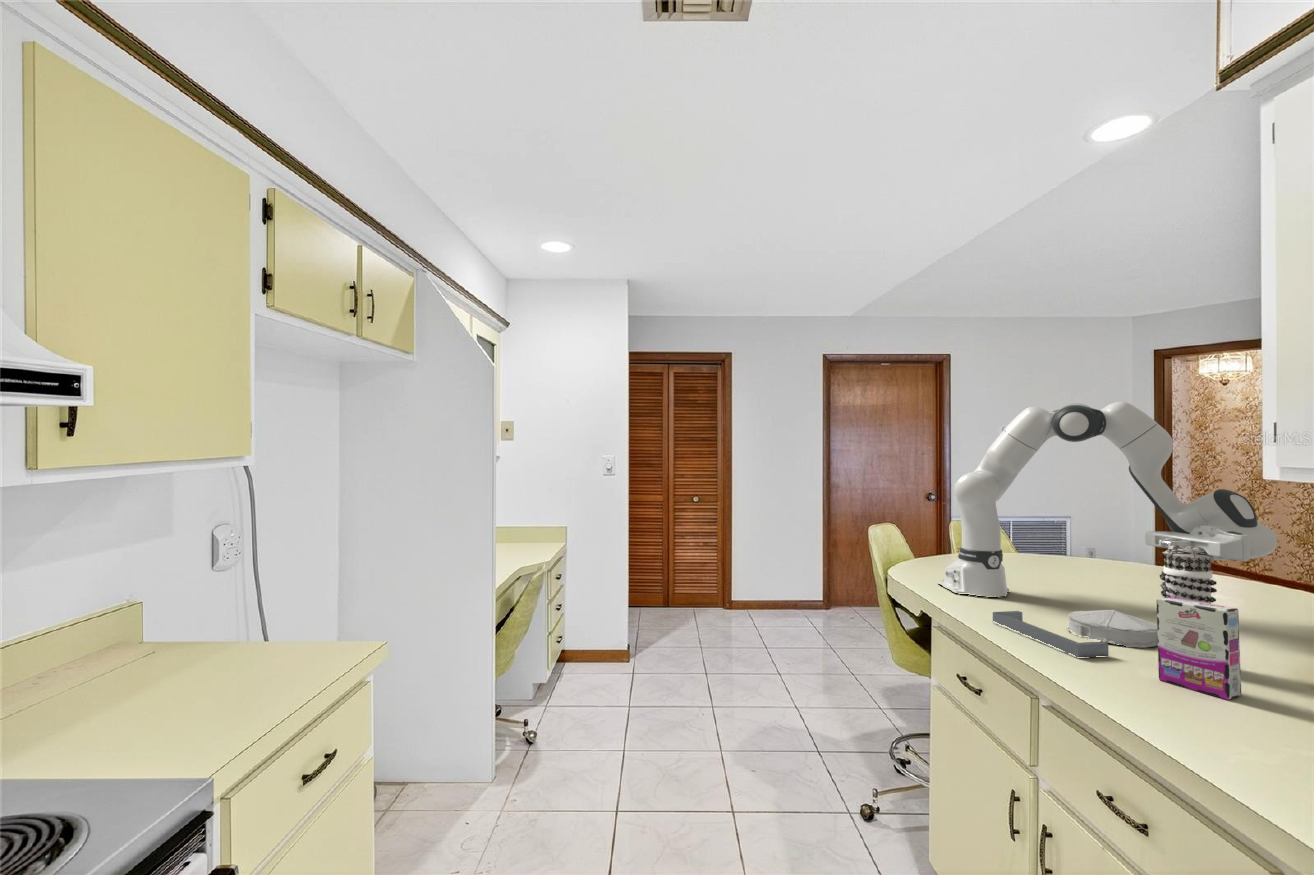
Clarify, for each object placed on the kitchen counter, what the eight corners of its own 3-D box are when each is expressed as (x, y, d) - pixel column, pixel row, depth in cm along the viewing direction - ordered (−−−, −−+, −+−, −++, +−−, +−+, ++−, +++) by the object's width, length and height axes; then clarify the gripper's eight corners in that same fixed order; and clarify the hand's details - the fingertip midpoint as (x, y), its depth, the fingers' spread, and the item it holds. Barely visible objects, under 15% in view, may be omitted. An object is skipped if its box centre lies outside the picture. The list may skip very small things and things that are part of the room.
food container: (1045, 630, 154) (1045, 604, 154) (1101, 621, 160) (1101, 596, 160) (1127, 656, 135) (1126, 626, 135) (1187, 645, 141) (1186, 616, 141)
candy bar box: (1242, 696, 111) (1240, 608, 111) (1229, 701, 109) (1227, 611, 109) (1170, 676, 121) (1168, 595, 121) (1157, 680, 119) (1155, 597, 119)
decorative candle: (1156, 663, 128) (1154, 547, 128) (1166, 653, 134) (1163, 542, 134) (1214, 675, 121) (1211, 552, 121) (1221, 665, 127) (1219, 547, 127)
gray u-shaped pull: (992, 623, 157) (992, 612, 158) (1018, 622, 159) (1018, 610, 159) (1078, 659, 131) (1078, 645, 131) (1108, 657, 132) (1108, 643, 132)
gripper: (1170, 525, 162) (1126, 526, 160) (1256, 536, 142) (1206, 537, 140) (1171, 548, 162) (1126, 550, 160) (1256, 562, 142) (1206, 564, 140)
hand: (1164, 544), depth 150 cm, fingers closed
